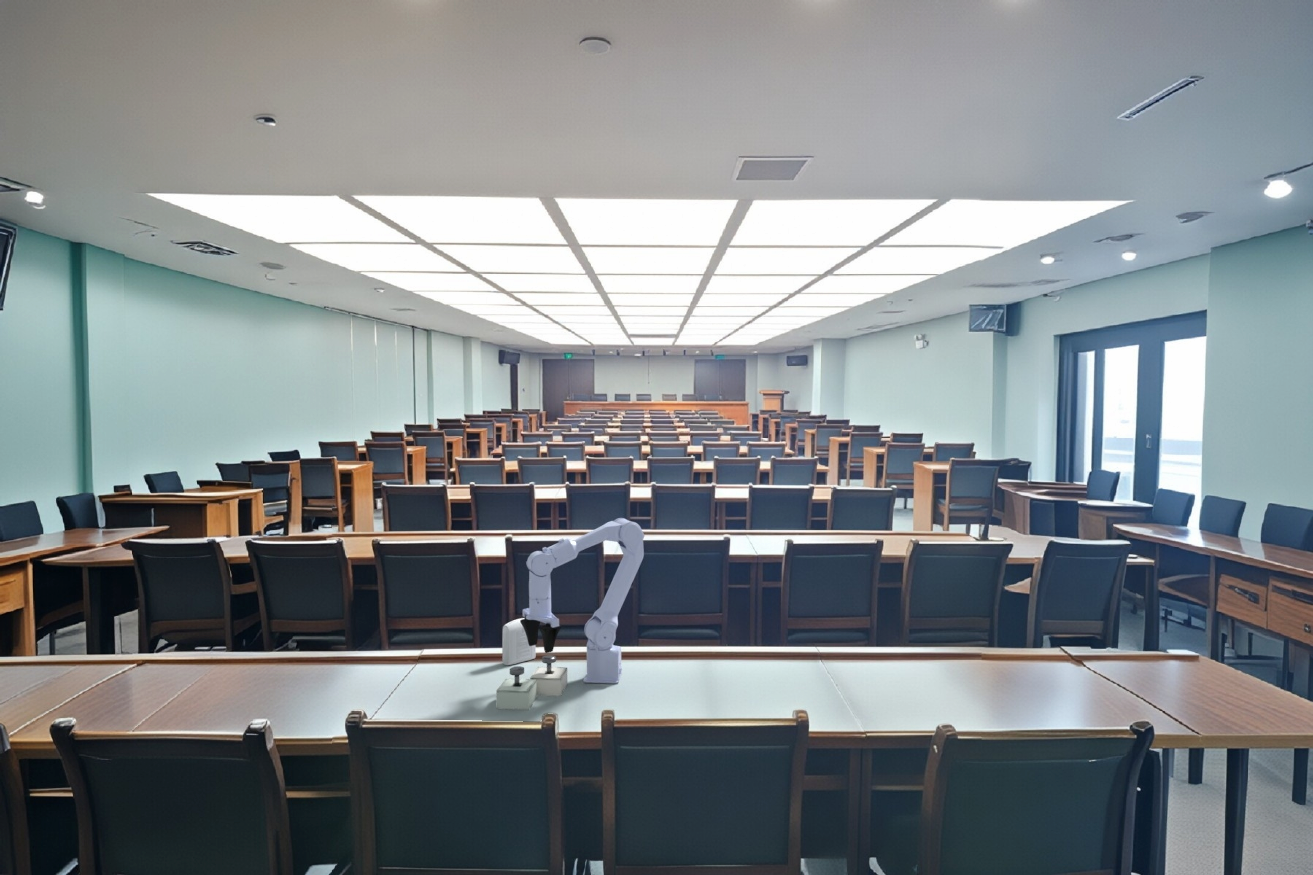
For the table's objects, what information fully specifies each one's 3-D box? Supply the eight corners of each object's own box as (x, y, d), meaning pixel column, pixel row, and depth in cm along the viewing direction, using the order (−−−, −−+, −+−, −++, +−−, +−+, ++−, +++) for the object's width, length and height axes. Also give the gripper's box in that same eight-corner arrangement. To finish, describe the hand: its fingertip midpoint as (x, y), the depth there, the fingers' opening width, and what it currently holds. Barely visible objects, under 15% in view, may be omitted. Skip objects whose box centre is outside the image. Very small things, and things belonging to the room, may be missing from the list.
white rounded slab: (530, 655, 207) (529, 614, 207) (538, 658, 204) (537, 617, 204) (500, 663, 200) (499, 621, 200) (507, 667, 197) (507, 624, 197)
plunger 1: (530, 685, 174) (529, 665, 174) (524, 693, 169) (524, 672, 169) (509, 685, 175) (509, 664, 174) (503, 693, 169) (503, 672, 169)
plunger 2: (561, 673, 183) (560, 654, 183) (556, 680, 177) (556, 660, 177) (541, 673, 183) (541, 653, 183) (536, 680, 178) (536, 660, 178)
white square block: (567, 684, 184) (567, 667, 184) (560, 695, 176) (560, 678, 176) (538, 683, 185) (537, 666, 184) (530, 694, 177) (530, 677, 177)
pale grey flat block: (536, 696, 175) (536, 679, 175) (528, 709, 167) (528, 691, 167) (506, 695, 176) (506, 678, 176) (496, 708, 168) (496, 690, 168)
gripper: (512, 595, 184) (513, 645, 185) (542, 605, 174) (543, 658, 174) (534, 590, 189) (535, 639, 189) (565, 600, 178) (566, 652, 179)
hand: (540, 648), depth 182 cm, fingers open, 7 cm apart
